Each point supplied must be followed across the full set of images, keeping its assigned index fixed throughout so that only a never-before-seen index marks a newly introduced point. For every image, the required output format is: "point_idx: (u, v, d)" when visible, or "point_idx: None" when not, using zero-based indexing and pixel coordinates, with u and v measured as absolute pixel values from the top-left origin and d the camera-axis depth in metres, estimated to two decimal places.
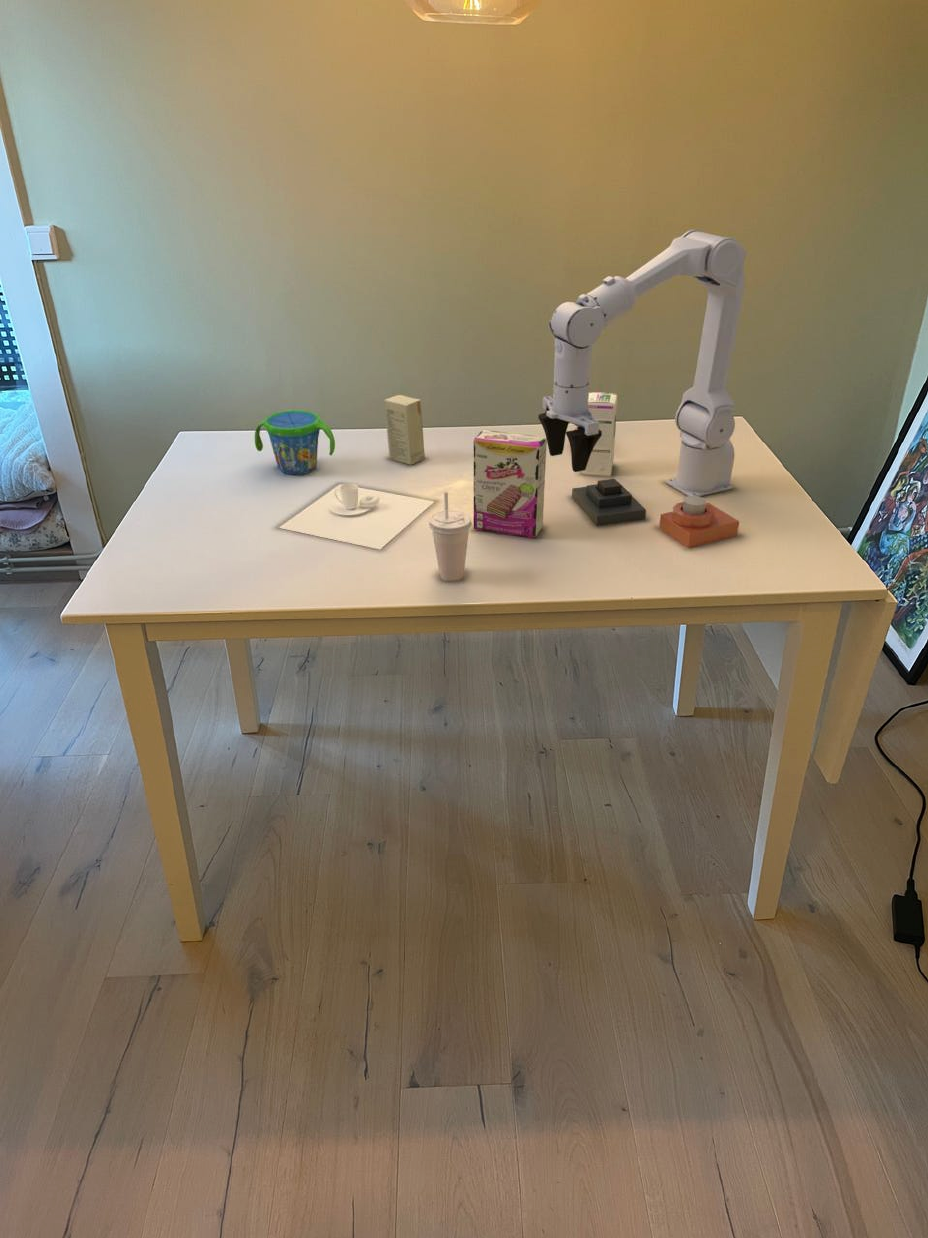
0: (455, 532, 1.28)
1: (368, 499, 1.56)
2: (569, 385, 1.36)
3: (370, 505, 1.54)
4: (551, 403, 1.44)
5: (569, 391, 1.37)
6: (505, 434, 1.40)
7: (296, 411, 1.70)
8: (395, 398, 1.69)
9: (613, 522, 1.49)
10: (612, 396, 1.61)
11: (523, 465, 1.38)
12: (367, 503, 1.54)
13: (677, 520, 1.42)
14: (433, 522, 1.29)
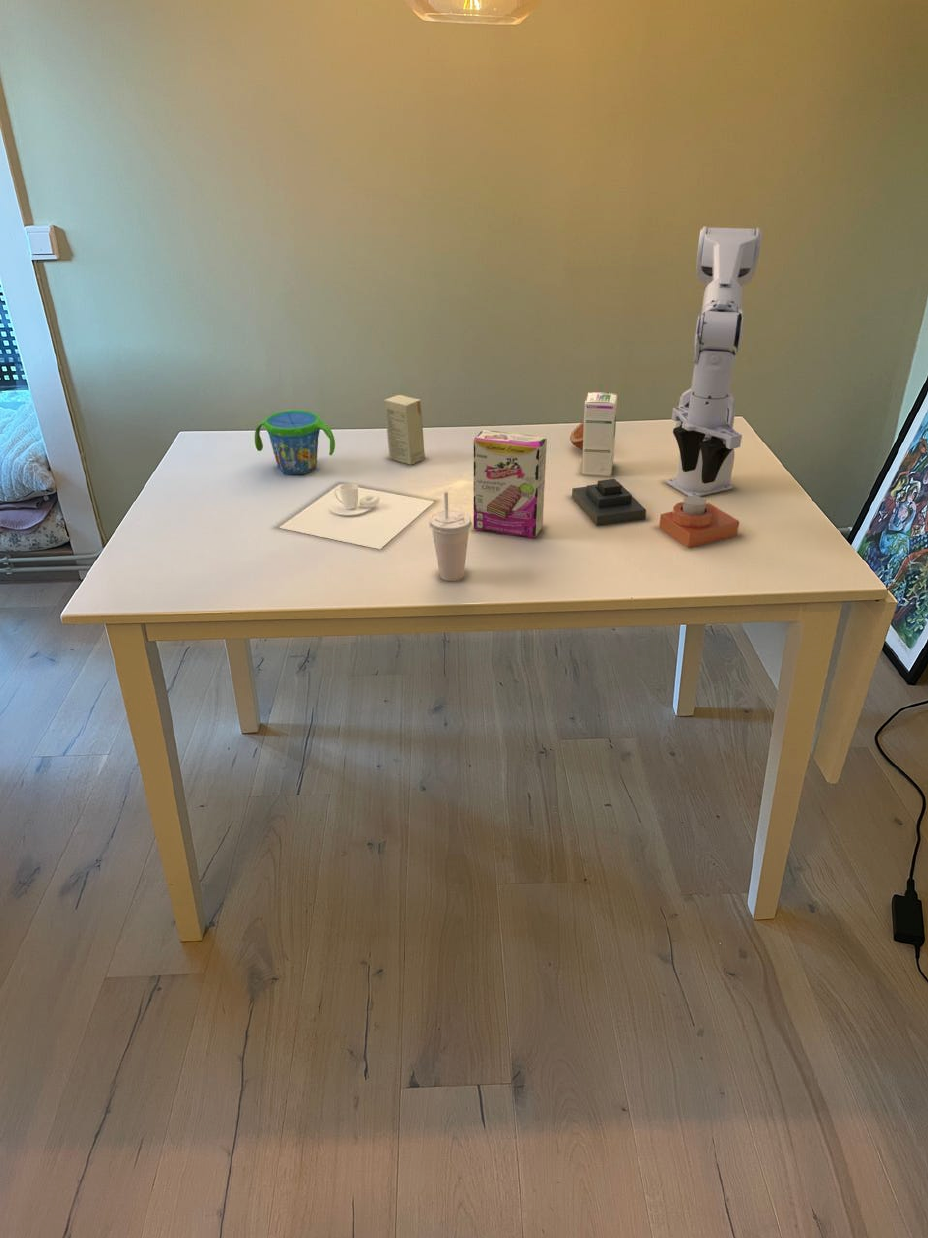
0: (455, 532, 1.28)
1: (368, 499, 1.56)
2: (725, 395, 1.30)
3: (370, 505, 1.54)
4: (683, 414, 1.38)
5: (709, 402, 1.30)
6: (505, 434, 1.40)
7: (296, 411, 1.70)
8: (395, 398, 1.69)
9: (613, 522, 1.49)
10: (612, 396, 1.61)
11: (523, 465, 1.38)
12: (367, 503, 1.54)
13: (677, 520, 1.42)
14: (433, 522, 1.29)
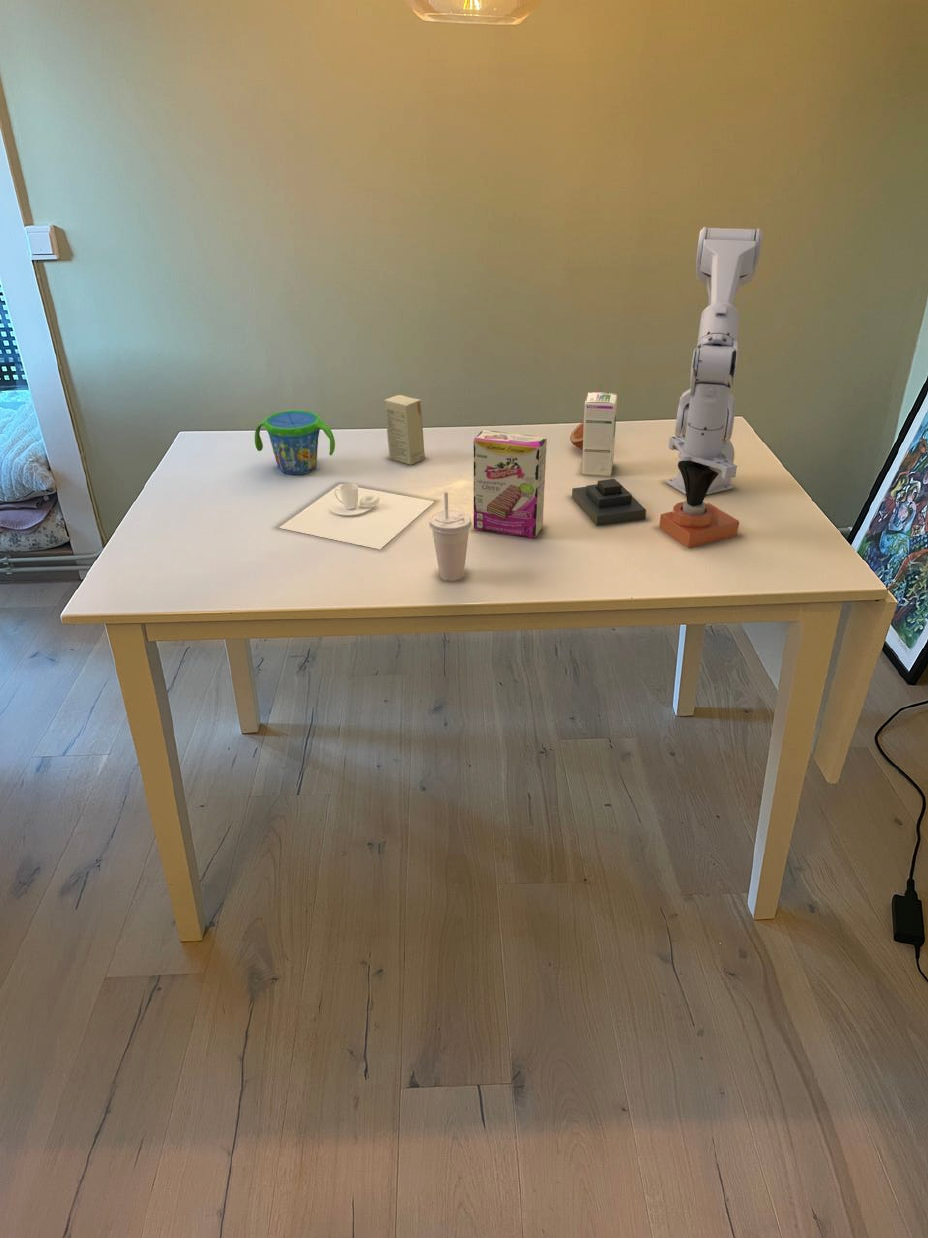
0: (455, 532, 1.28)
1: (368, 499, 1.56)
2: (721, 426, 1.33)
3: (370, 505, 1.54)
4: (679, 444, 1.41)
5: (705, 433, 1.33)
6: (505, 434, 1.40)
7: (296, 411, 1.70)
8: (395, 398, 1.69)
9: (613, 522, 1.49)
10: (612, 396, 1.61)
11: (523, 465, 1.38)
12: (367, 503, 1.54)
13: (677, 520, 1.42)
14: (433, 522, 1.29)
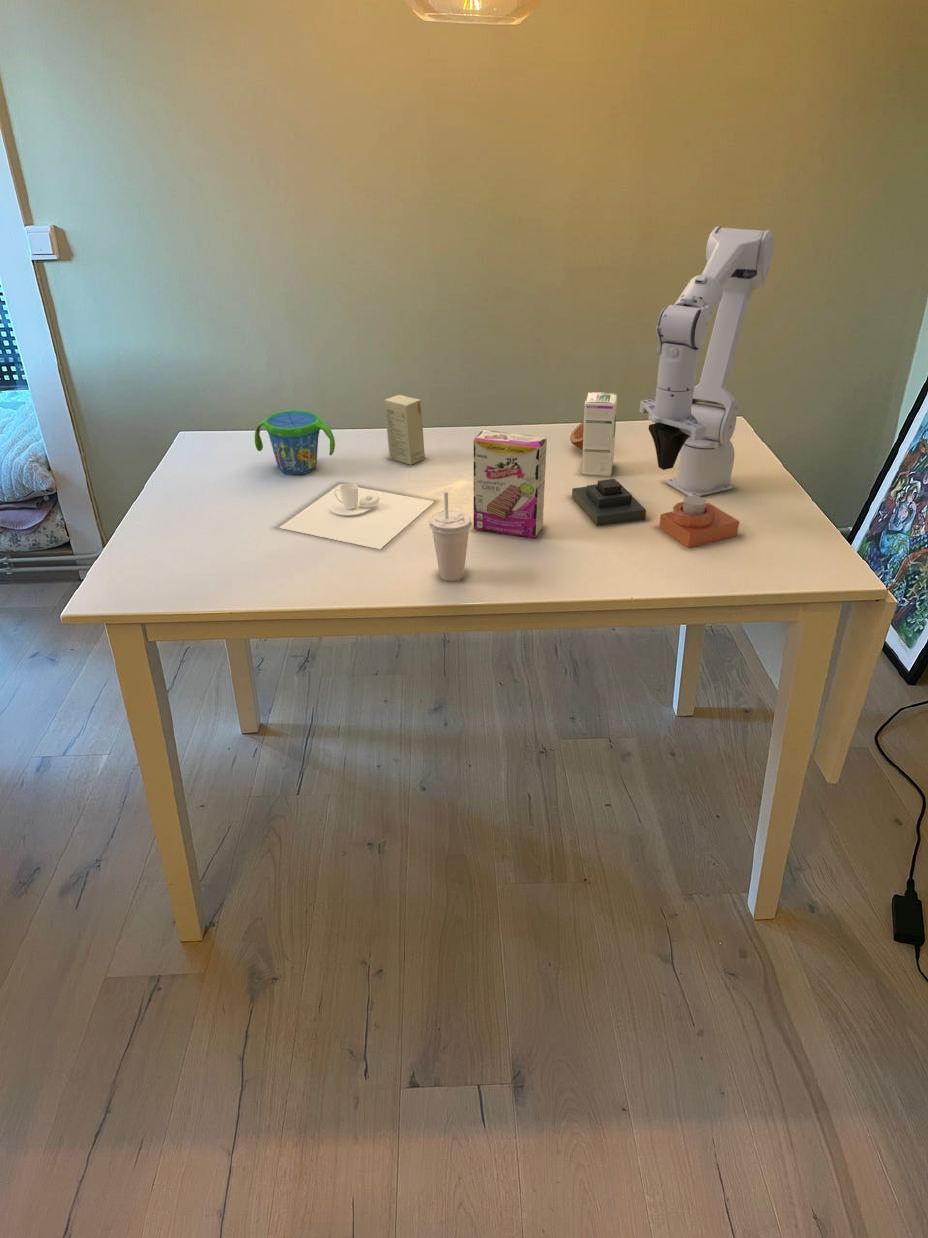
0: (455, 532, 1.28)
1: (368, 499, 1.56)
2: (685, 388, 1.33)
3: (370, 505, 1.54)
4: (650, 407, 1.41)
5: (674, 395, 1.34)
6: (505, 434, 1.40)
7: (296, 411, 1.70)
8: (395, 398, 1.69)
9: (613, 522, 1.49)
10: (612, 396, 1.61)
11: (523, 465, 1.38)
12: (367, 503, 1.54)
13: (677, 520, 1.42)
14: (433, 522, 1.29)
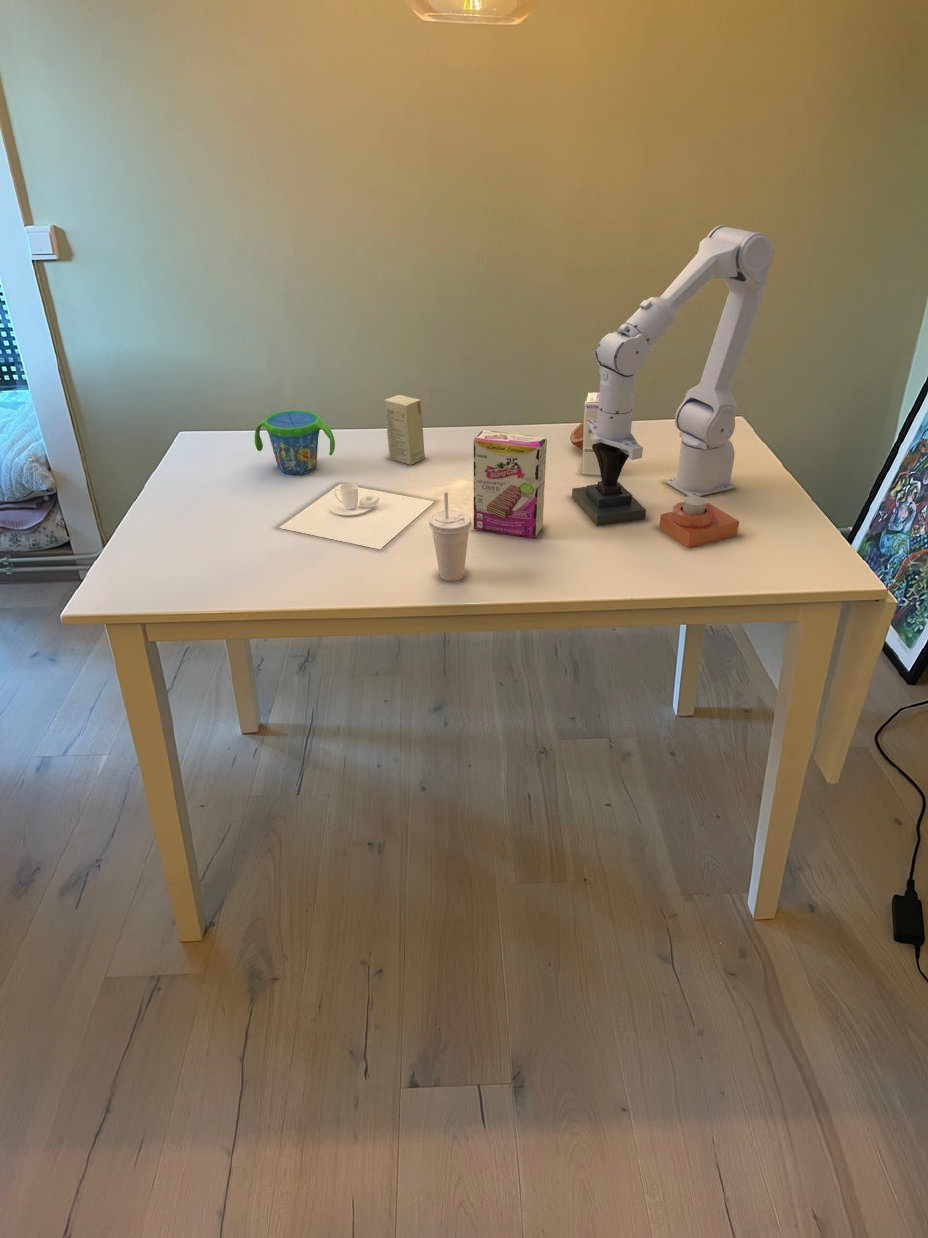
0: (455, 532, 1.28)
1: (368, 499, 1.56)
2: (614, 411, 1.42)
3: (370, 505, 1.54)
4: (594, 427, 1.50)
5: (614, 417, 1.42)
6: (505, 434, 1.40)
7: (296, 411, 1.70)
8: (395, 398, 1.69)
9: (613, 522, 1.49)
10: None
11: (523, 465, 1.38)
12: (367, 503, 1.54)
13: (677, 520, 1.42)
14: (433, 522, 1.29)
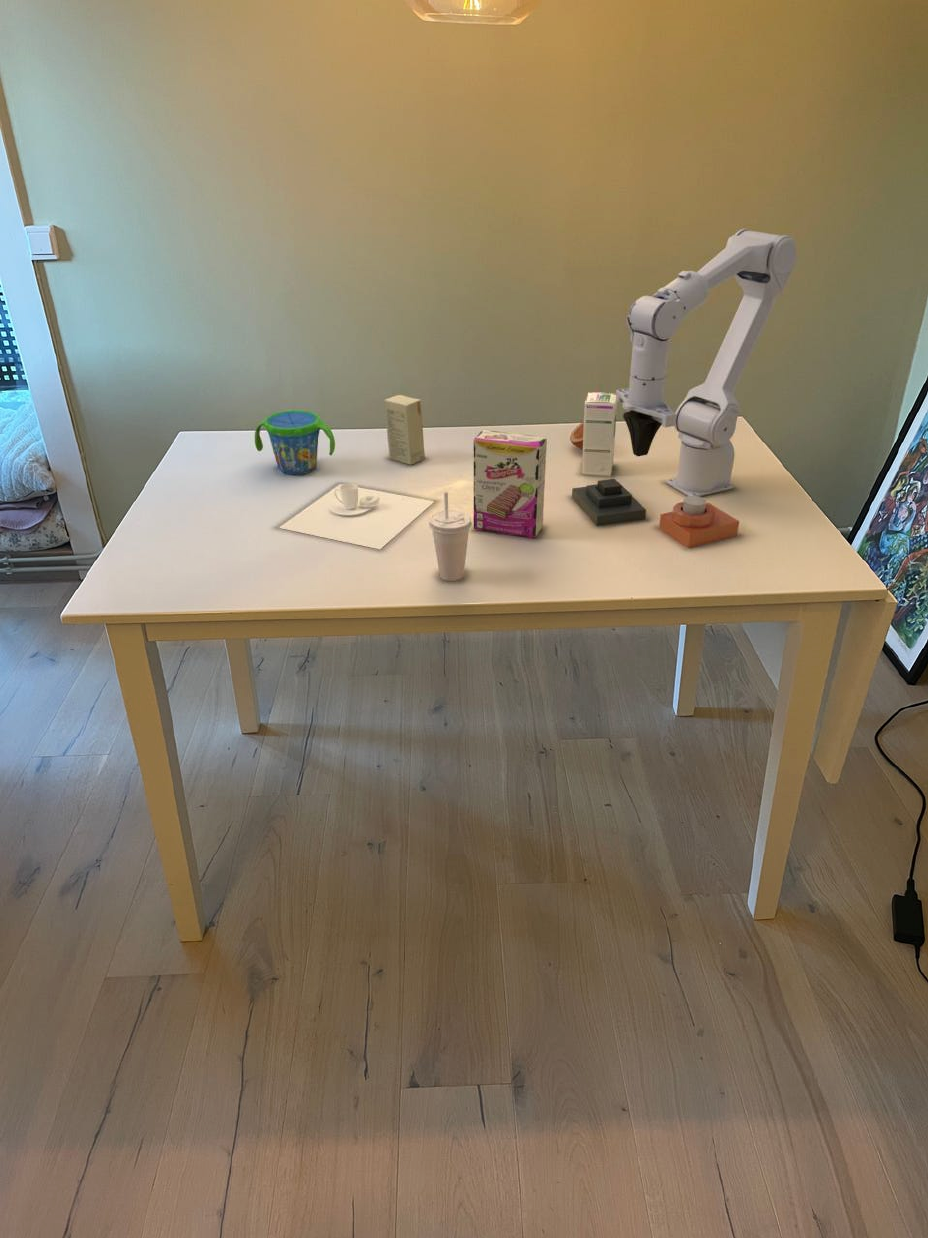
0: (455, 532, 1.28)
1: (368, 499, 1.56)
2: (650, 378, 1.38)
3: (370, 505, 1.54)
4: (625, 396, 1.46)
5: (646, 383, 1.39)
6: (505, 434, 1.40)
7: (296, 411, 1.70)
8: (395, 398, 1.69)
9: (613, 522, 1.49)
10: (612, 396, 1.61)
11: (523, 465, 1.38)
12: (367, 503, 1.54)
13: (677, 520, 1.42)
14: (433, 522, 1.29)
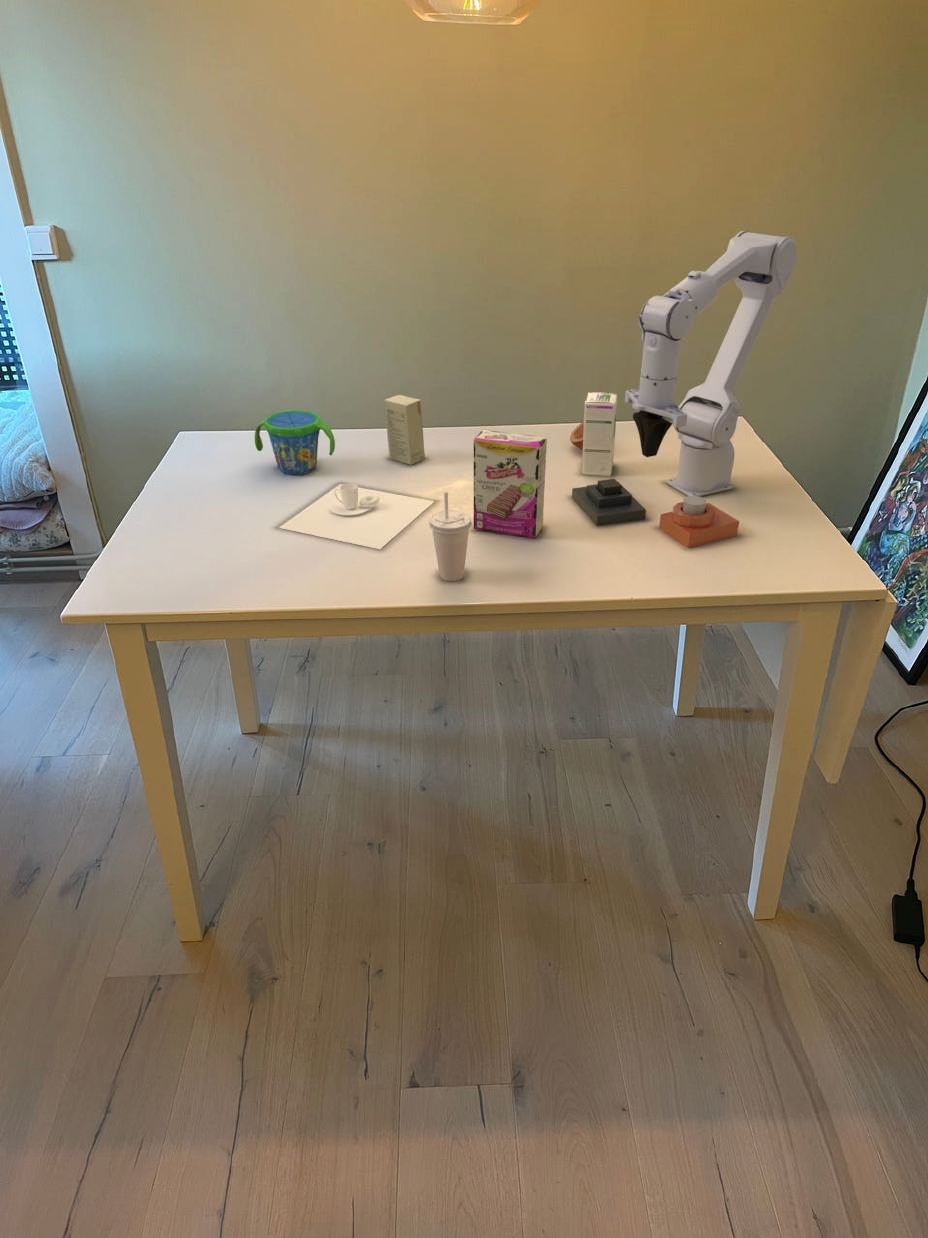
0: (455, 532, 1.28)
1: (368, 499, 1.56)
2: (663, 377, 1.38)
3: (370, 505, 1.54)
4: (635, 396, 1.46)
5: (657, 383, 1.38)
6: (505, 434, 1.40)
7: (296, 411, 1.70)
8: (395, 398, 1.69)
9: (613, 522, 1.49)
10: (612, 396, 1.61)
11: (523, 465, 1.38)
12: (367, 503, 1.54)
13: (677, 520, 1.42)
14: (433, 522, 1.29)
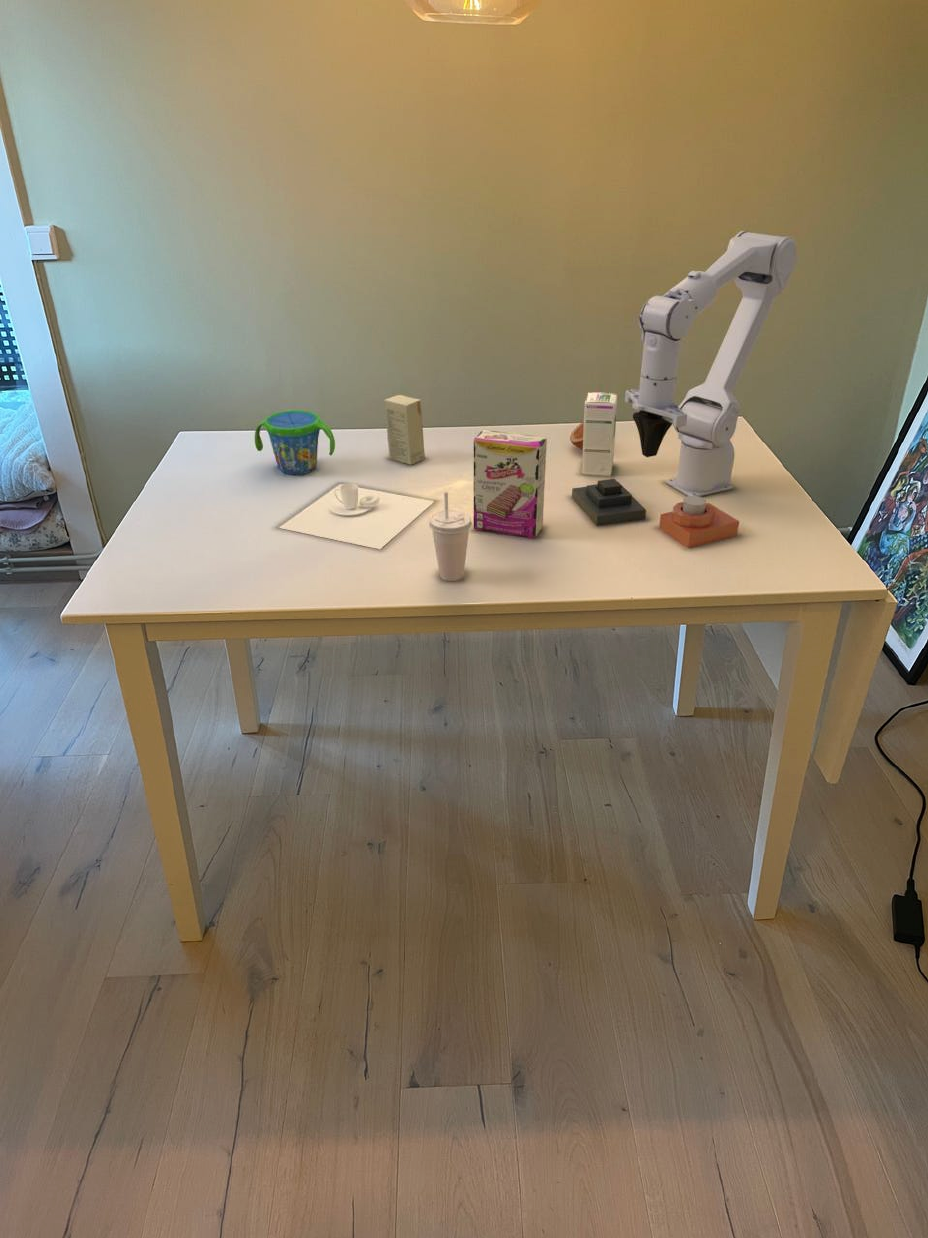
0: (455, 532, 1.28)
1: (368, 499, 1.56)
2: (663, 377, 1.38)
3: (370, 505, 1.54)
4: (635, 396, 1.46)
5: (657, 383, 1.38)
6: (505, 434, 1.40)
7: (296, 411, 1.70)
8: (395, 398, 1.69)
9: (613, 522, 1.49)
10: (612, 396, 1.61)
11: (523, 465, 1.38)
12: (367, 503, 1.54)
13: (677, 520, 1.42)
14: (433, 522, 1.29)
